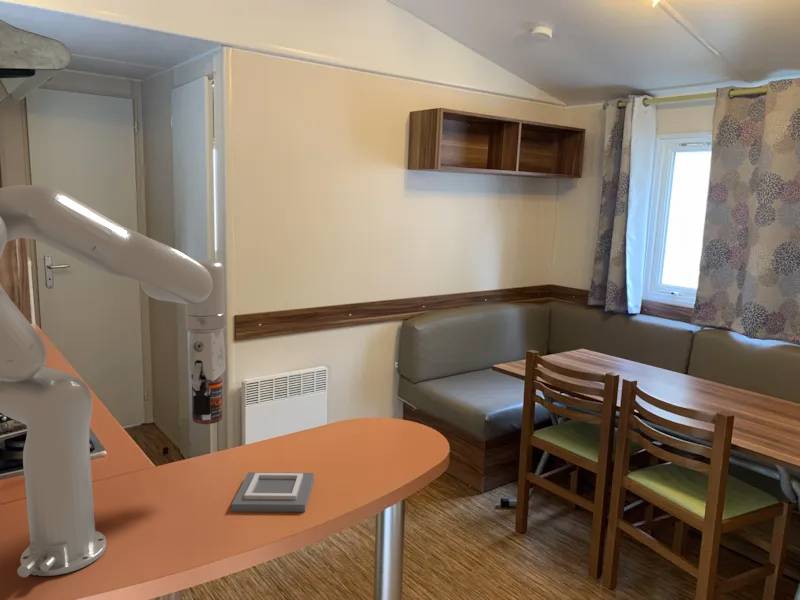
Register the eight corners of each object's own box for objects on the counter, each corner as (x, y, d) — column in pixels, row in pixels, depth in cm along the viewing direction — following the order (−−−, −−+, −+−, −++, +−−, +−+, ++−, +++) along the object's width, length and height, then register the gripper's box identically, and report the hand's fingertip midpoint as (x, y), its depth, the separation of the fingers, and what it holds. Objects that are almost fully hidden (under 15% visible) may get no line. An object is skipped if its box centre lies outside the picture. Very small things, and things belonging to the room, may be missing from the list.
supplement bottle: (213, 426, 123) (212, 371, 122) (186, 424, 124) (185, 369, 123) (228, 417, 129) (227, 364, 127) (201, 414, 130) (200, 362, 129)
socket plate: (304, 511, 119) (304, 500, 118) (231, 511, 119) (231, 500, 118) (313, 479, 133) (313, 469, 132) (248, 478, 132) (248, 468, 132)
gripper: (212, 331, 115) (213, 423, 118) (235, 315, 132) (236, 396, 135) (171, 330, 115) (174, 423, 118) (199, 314, 132) (201, 395, 135)
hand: (207, 408), depth 126 cm, fingers closed on supplement bottle, 6 cm apart
